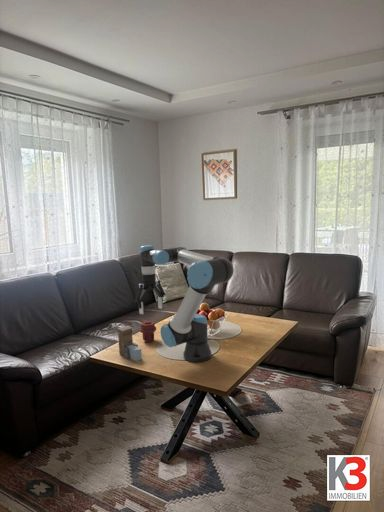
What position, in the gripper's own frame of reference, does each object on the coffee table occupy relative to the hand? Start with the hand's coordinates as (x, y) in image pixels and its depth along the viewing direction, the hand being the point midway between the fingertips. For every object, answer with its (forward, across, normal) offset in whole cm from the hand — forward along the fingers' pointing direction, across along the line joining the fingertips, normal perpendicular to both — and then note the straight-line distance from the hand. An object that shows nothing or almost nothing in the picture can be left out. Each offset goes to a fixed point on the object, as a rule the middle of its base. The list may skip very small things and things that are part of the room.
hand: (151, 311), depth 205 cm
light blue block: (+24, +12, -2) cm, 27 cm away
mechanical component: (+24, -10, -16) cm, 30 cm away
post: (+24, +12, -8) cm, 27 cm away
